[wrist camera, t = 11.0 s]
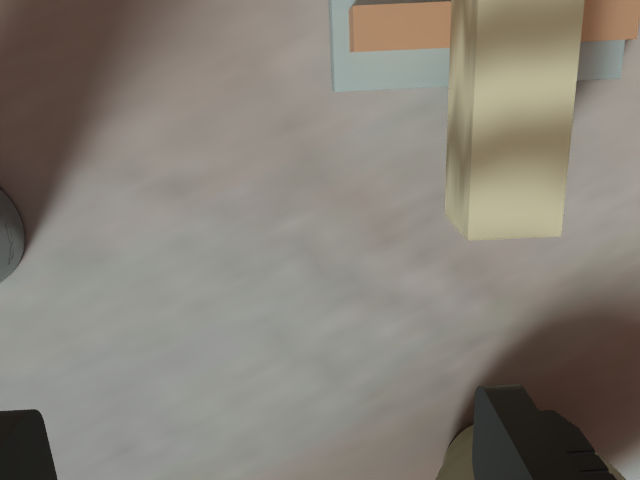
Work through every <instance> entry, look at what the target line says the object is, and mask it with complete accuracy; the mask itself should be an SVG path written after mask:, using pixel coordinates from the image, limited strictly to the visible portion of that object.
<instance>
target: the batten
mask: <svg viewBox="0 0 640 480" xmlns="http://www.w3.org/2000/svg"><path fill="white" fill-rule="evenodd" d="M584 1H585V0H451V27H450V60H449V93H448V126H447V159H446V192H445V216H446V217H447V218H448V219H449V221H450V222H451V223H452V224H453V225H454V226H455V227H456V228H457V229H458V231H459V232H460V233H461V234H462V235H463V236H464V237H465V238H466V239H467V241H473V240H494V239H514V238H535V237H555V236H561V232H562V222H563V212H564V202H565V192H566V182H567V172H568V162H569V152H570V142H571V132H572V122H573V112H574V102H575V92H576V82H577V72H578V62H579V52H580V42H581V32H582V22H583V12H584Z"/></svg>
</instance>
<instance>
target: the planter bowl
mask: <svg viewBox="0 0 640 480" xmlns="http://www.w3.org/2000/svg"><path fill="white" fill-rule="evenodd" d="M473 425H474V424H473ZM473 425H471V426H470V427H468V428H466V429H465V430H464V431H462V432H461V433H460V434H459V435H458V436H457V437H456V438H455V439H454V440H453V442H452V443H451V444H450V446H449V448H448V450H447V452H446V454H445V458H444V462H443V466H442V467H441V469H440V471H439V473H438V476H437V478H436V480H475V479H474V474H473V466H472V445H473ZM595 454H596V455H599V454H597V453H596V452H595ZM599 456H600V455H599ZM600 458H601V459H602V460H603V462H604V463H605V465H606V466H607V467H608V469H609V473H610V474H613V475H614V477H615V478H616V479H617V480H626V479H625V478H624V477H623V476H622V475H621V474H620V473H619V472H618V471H617V470H616V469H615V468H614V467H613V466H612V465H611V464H610V463H609V462H607V461H606V460H605V459H604V458H602V457H601V456H600Z"/></svg>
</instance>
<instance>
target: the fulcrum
mask: <svg viewBox="0 0 640 480" xmlns="http://www.w3.org/2000/svg"><path fill="white" fill-rule="evenodd" d="M329 14H330V43H331V71H332V90H333V91H334V92H345V91H366V90H388V89H409V88H431V87H449V60H450V27H451V0H329ZM639 19H640V0H585V1H584V12H583V22H582V32H581V42H580V52H579V62H578V72H577V81H580V80H602V79H620V78H621V70H622V62H623V54H624V45H625V40H628V39H637V35H638V27H639Z"/></svg>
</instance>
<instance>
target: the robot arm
mask: <svg viewBox="0 0 640 480" xmlns="http://www.w3.org/2000/svg"><path fill="white" fill-rule="evenodd" d="M24 242H25V238H24V228H23V225H22V222H21V219H20V216H19V213H18V212H17V210H16V208H15V206H14V205H13V203H12V201H11V200H10V199H9V198H8V197H7V195H6V194H5V193H4V192H3V191H2V190H1V189H0V283H1V282H2V281H3V280H4V279H6V278H7V277H8V276H9V275H10V274H12V272H13V271H14V270H15V268H16V267H17V265H18V264H19V262H20V259H21V257H22V254H23V250H24ZM472 466H473V474H474V479H475V480H617V479H616V478H615V477H614V475H613V474H610V473H609V469H608V467H607V466H606V465H605V463H604V462H603V460H602V459H601V458H600V456H599V455H596V454H595V450H594V448H593V447H592V446H591V444H590V443H589V442H588V440H587V439H586V438H585V436H584V435H583V434H582V432H581V431H580V430H579V428H577V427H576V426H575V425H573V424H572V423H570V422H569V421H567V420H566V419H565V418H563V417H562V416H560V415H559V414H558V413H556V412H555V411H539V410H538V409H537V407H536V406H535V404H534V403H533V401H532V400H531V398H530V397H529V395H528V394H527V392H526V391H525V389H524V388H523V387H522V386H521V385H520V384H510V385H492V386H479V387H477V389H476V393H475V406H474V425H473V445H472ZM0 480H57V475H56V471H55V467H54V462H53V458H52V454H51V450H50V445H49V441H48V437H47V433H46V428H45V424H44V420H43V417H42V415H41V413H40V412H39V411H38V410H35V409H31V410H13V411H0Z"/></svg>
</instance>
